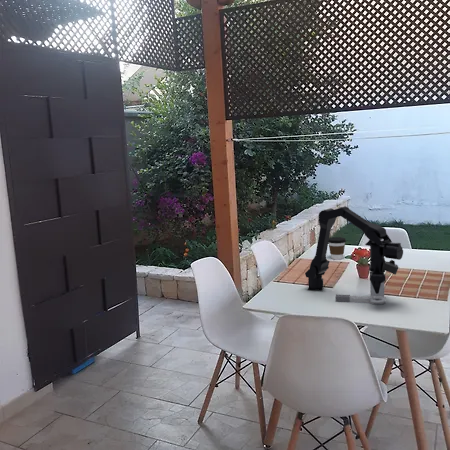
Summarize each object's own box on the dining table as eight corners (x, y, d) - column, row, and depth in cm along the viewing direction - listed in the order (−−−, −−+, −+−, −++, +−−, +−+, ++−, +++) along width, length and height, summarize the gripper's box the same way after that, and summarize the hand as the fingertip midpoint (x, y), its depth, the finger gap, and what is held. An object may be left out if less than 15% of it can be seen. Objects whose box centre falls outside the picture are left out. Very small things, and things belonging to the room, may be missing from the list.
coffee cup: (323, 258, 282) (323, 238, 280) (338, 255, 286) (338, 236, 284) (335, 261, 272) (335, 241, 270) (350, 258, 277) (350, 239, 275)
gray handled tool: (335, 302, 204) (335, 290, 203) (336, 297, 211) (336, 286, 210) (386, 305, 198) (386, 292, 197) (385, 299, 205) (385, 287, 204)
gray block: (370, 295, 200) (370, 282, 199) (370, 291, 206) (370, 278, 204) (384, 296, 199) (384, 282, 198) (383, 292, 204) (383, 278, 203)
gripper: (398, 262, 188) (398, 299, 191) (395, 251, 206) (395, 285, 208) (369, 261, 191) (369, 298, 194) (369, 251, 209) (369, 284, 212)
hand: (377, 291), depth 202 cm, fingers closed on gray block, 6 cm apart
